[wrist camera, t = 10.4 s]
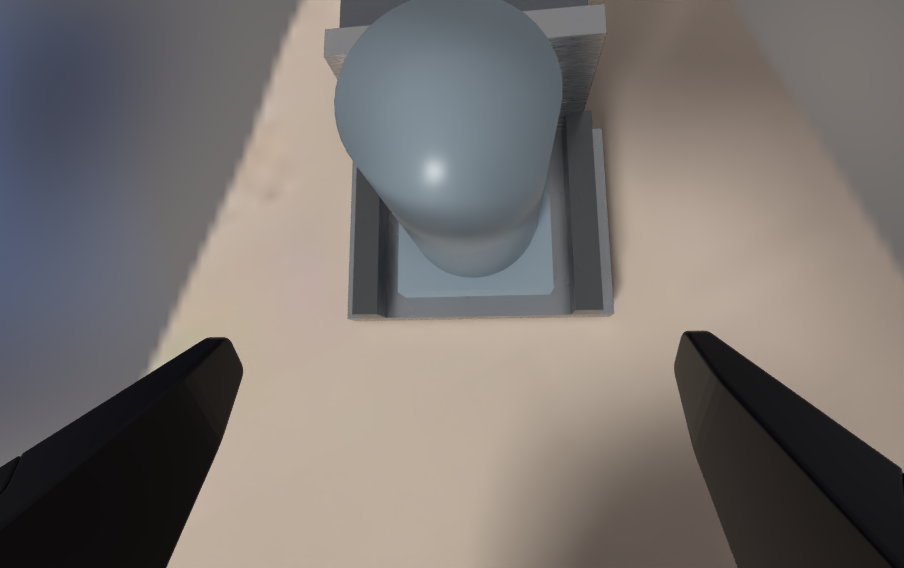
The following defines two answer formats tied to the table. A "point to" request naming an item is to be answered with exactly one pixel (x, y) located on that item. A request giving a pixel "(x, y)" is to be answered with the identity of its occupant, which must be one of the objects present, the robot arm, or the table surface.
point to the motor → (570, 184)
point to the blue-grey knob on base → (457, 142)
